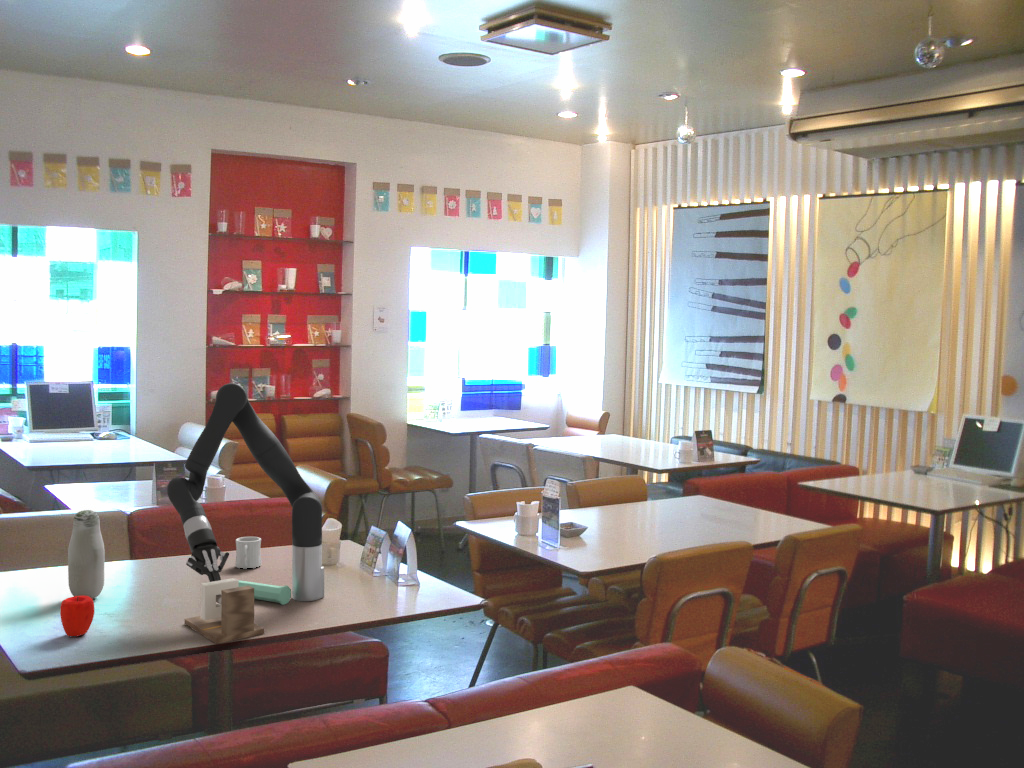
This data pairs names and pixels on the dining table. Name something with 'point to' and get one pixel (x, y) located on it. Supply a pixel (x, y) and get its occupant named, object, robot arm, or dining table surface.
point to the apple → (77, 614)
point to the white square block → (214, 597)
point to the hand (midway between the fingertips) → (216, 584)
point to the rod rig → (230, 617)
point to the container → (269, 592)
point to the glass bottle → (86, 556)
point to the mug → (248, 552)
